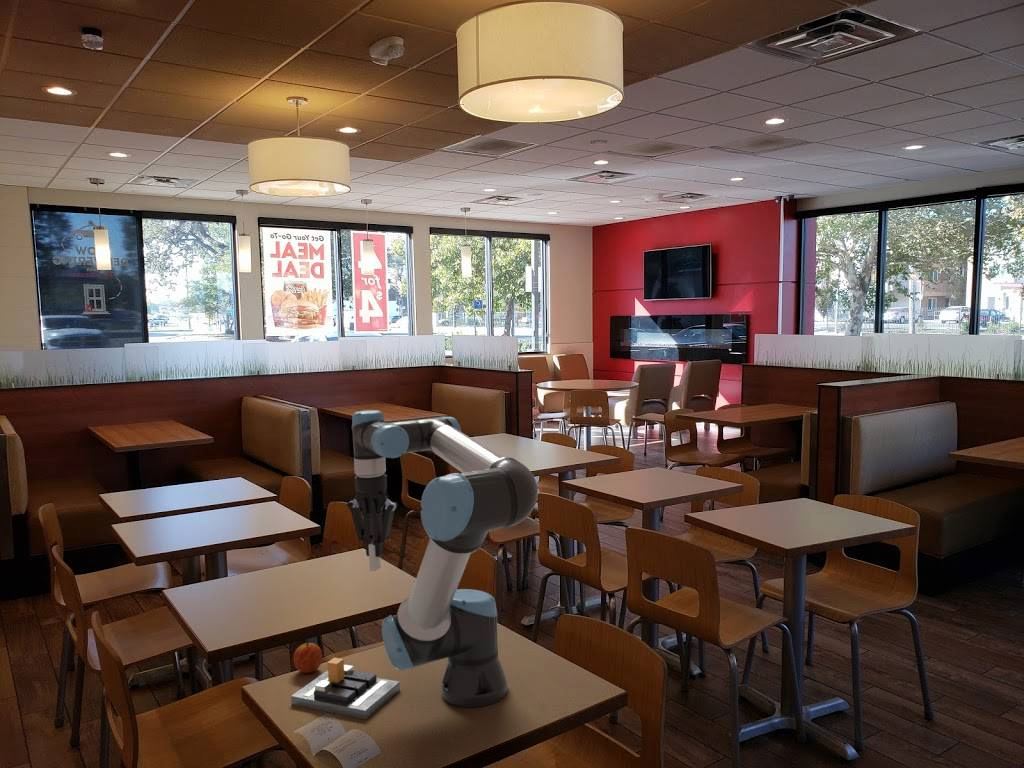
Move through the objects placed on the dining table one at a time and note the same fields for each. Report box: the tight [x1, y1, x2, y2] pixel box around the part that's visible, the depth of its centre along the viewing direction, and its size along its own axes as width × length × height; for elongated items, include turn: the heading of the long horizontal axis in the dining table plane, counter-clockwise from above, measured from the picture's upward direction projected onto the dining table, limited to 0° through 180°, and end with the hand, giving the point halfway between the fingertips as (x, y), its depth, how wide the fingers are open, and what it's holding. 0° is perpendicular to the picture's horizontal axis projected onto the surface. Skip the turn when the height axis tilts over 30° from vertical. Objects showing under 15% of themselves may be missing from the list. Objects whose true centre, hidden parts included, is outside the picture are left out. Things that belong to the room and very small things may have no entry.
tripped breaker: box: [327, 657, 345, 683], centre depth 174 cm, size 3×3×4 cm
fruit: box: [293, 640, 323, 674], centre depth 187 cm, size 7×7×8 cm
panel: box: [290, 664, 401, 720], centre depth 173 cm, size 20×14×5 cm
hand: (375, 568), depth 184 cm, fingers closed
